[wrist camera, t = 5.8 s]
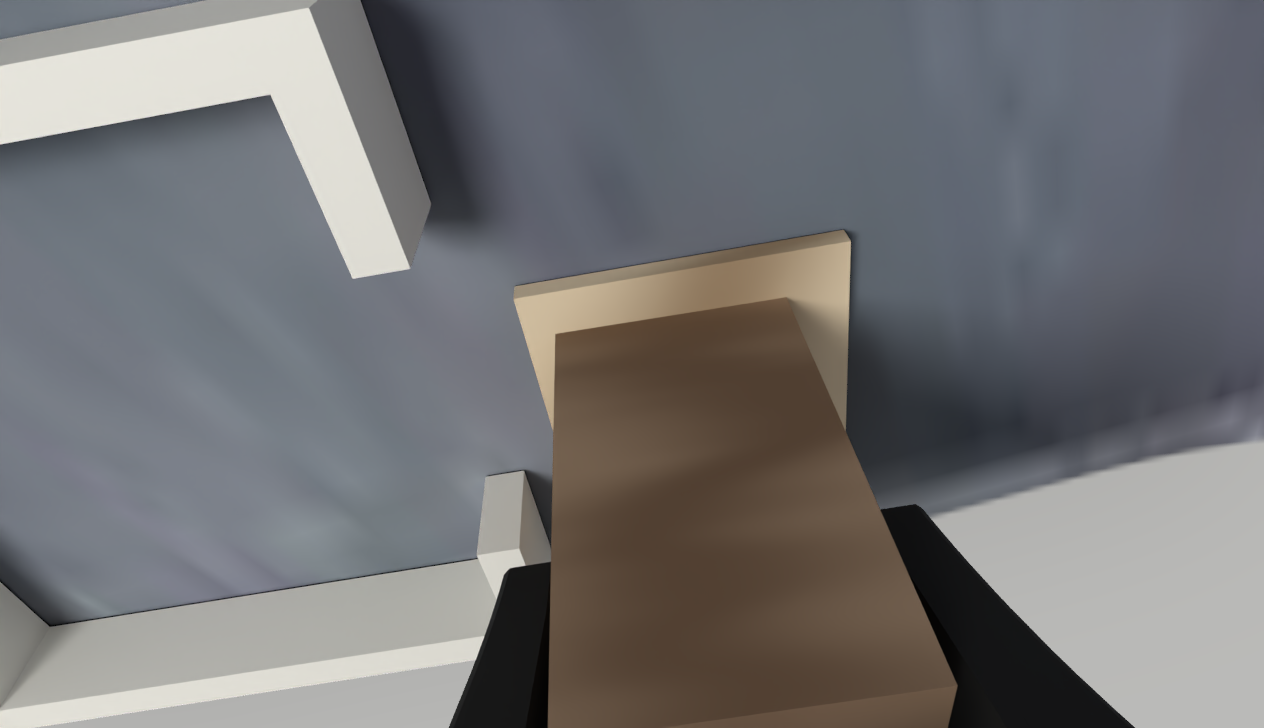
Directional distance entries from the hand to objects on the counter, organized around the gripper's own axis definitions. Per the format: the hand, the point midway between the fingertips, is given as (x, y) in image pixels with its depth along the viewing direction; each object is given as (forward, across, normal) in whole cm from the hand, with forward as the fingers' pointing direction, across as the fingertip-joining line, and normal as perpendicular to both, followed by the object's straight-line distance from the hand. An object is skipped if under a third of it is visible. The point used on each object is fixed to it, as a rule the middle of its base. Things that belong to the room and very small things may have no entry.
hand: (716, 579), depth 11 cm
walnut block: (+4, 0, 0) cm, 4 cm away
